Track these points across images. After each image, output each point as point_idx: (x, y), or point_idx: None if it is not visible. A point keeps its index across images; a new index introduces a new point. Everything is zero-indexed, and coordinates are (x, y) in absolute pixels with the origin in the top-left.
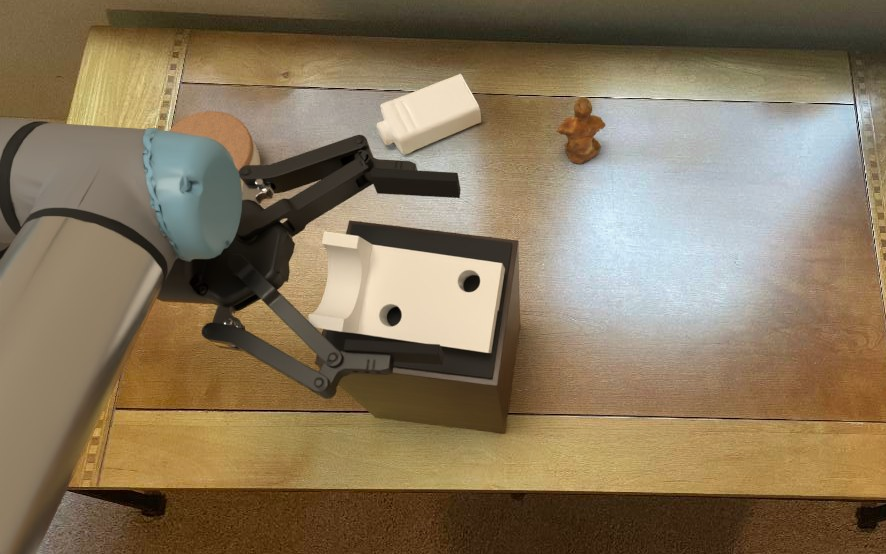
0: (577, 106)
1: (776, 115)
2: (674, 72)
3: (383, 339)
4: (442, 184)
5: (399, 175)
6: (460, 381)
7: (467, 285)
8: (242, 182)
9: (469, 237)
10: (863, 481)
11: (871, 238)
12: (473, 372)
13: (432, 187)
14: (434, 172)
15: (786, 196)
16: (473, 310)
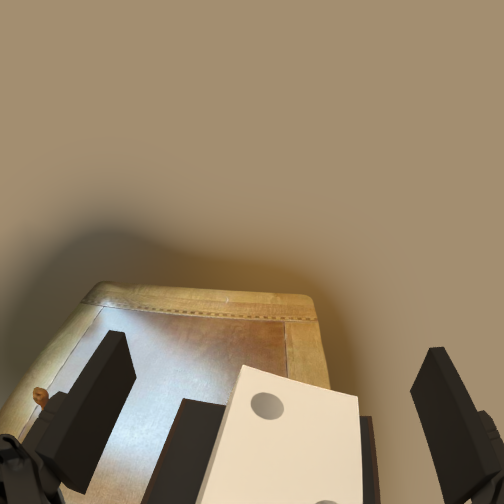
0: (37, 397)
1: (92, 334)
2: (40, 369)
3: None
4: (117, 360)
5: (73, 406)
6: (375, 451)
7: None
8: None
9: (168, 446)
10: (316, 336)
11: (180, 315)
12: (365, 435)
13: (113, 384)
14: (93, 356)
15: (143, 341)
16: (309, 406)
